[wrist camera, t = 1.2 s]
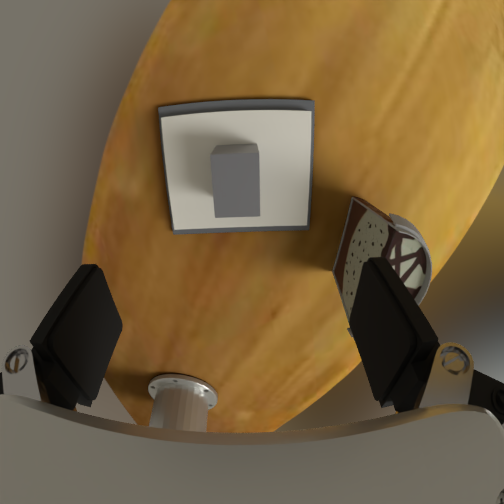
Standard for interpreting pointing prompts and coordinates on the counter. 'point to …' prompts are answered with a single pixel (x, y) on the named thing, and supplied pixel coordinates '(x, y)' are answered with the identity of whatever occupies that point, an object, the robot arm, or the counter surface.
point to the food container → (380, 251)
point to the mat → (236, 106)
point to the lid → (238, 168)
